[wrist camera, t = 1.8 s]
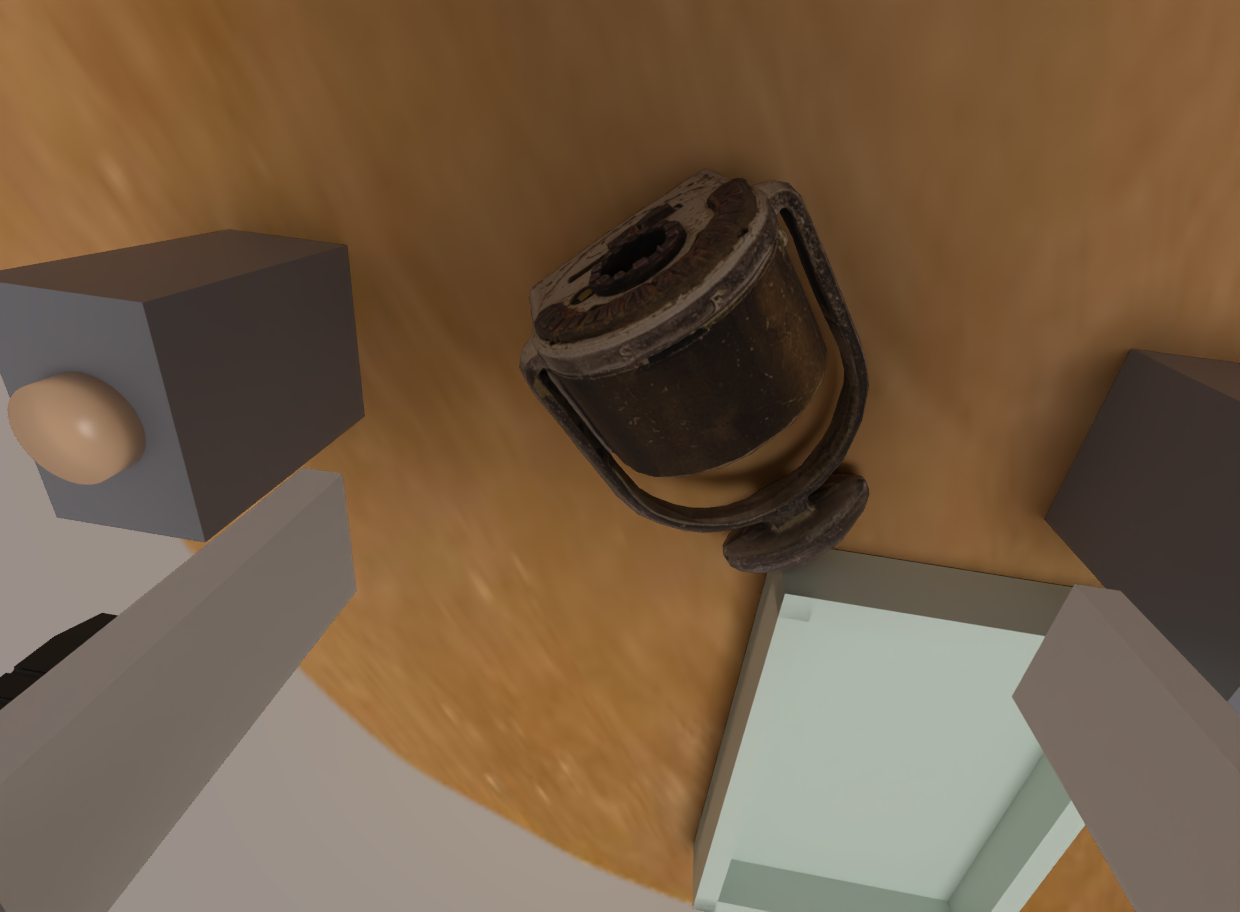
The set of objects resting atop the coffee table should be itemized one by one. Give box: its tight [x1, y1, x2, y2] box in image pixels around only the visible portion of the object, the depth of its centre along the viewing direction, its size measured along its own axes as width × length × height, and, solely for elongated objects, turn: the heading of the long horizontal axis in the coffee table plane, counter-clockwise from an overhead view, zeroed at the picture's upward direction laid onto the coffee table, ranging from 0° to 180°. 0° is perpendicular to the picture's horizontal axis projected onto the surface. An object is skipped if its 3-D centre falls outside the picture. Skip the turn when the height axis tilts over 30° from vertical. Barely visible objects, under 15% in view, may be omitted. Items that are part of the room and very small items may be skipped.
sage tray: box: [693, 549, 1085, 912], centre depth 25 cm, size 13×19×3 cm
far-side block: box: [0, 229, 365, 542], centre depth 17 cm, size 4×6×9 cm, turn 174°
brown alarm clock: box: [519, 169, 869, 573], centre depth 17 cm, size 7×13×10 cm
